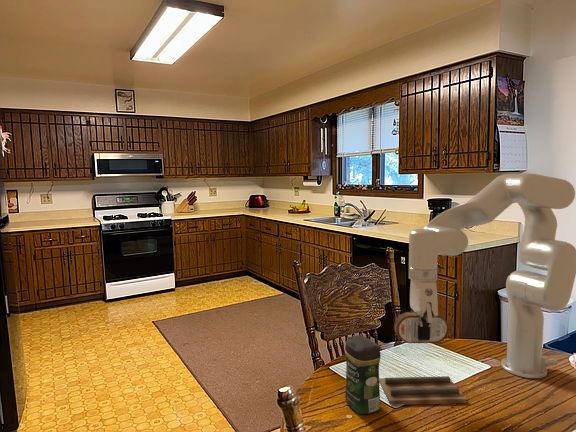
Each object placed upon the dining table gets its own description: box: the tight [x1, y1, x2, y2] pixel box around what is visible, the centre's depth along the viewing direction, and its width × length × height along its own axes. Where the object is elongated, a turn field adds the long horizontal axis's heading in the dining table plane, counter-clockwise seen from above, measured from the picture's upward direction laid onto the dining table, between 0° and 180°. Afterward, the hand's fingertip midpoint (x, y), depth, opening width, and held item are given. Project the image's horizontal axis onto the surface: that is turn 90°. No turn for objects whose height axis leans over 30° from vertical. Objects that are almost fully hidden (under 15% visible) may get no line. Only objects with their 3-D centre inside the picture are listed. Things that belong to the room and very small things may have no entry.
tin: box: [393, 311, 450, 344], centre depth 112 cm, size 15×3×8 cm, turn 91°
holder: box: [379, 375, 468, 406], centre depth 114 cm, size 21×12×3 cm, turn 91°
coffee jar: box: [344, 334, 382, 415], centre depth 107 cm, size 10×8×19 cm
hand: (421, 336), depth 113 cm, fingers closed on tin, 2 cm apart
